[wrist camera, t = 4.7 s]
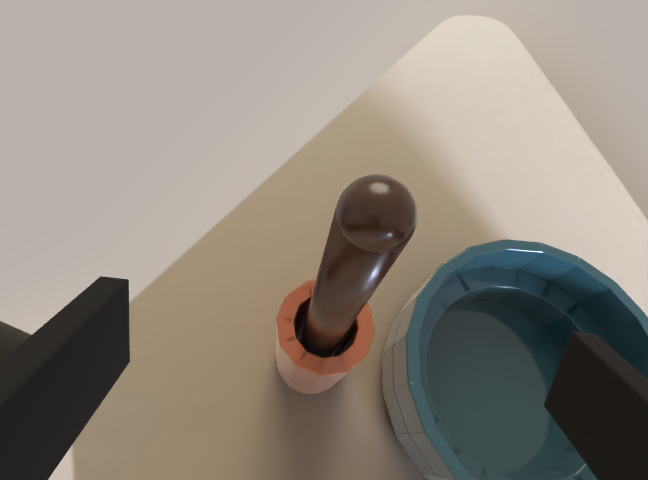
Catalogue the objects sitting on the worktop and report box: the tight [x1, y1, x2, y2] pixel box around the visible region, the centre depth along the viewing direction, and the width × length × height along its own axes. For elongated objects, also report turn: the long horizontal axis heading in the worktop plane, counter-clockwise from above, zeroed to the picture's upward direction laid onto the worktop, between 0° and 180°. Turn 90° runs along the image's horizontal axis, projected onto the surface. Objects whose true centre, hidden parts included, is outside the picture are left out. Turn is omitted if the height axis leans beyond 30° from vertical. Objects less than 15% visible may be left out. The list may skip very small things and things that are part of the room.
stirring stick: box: [300, 174, 417, 358], centre depth 18 cm, size 2×2×20 cm
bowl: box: [382, 240, 648, 480], centre depth 26 cm, size 15×15×6 cm
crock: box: [275, 280, 374, 394], centre depth 24 cm, size 5×5×9 cm
